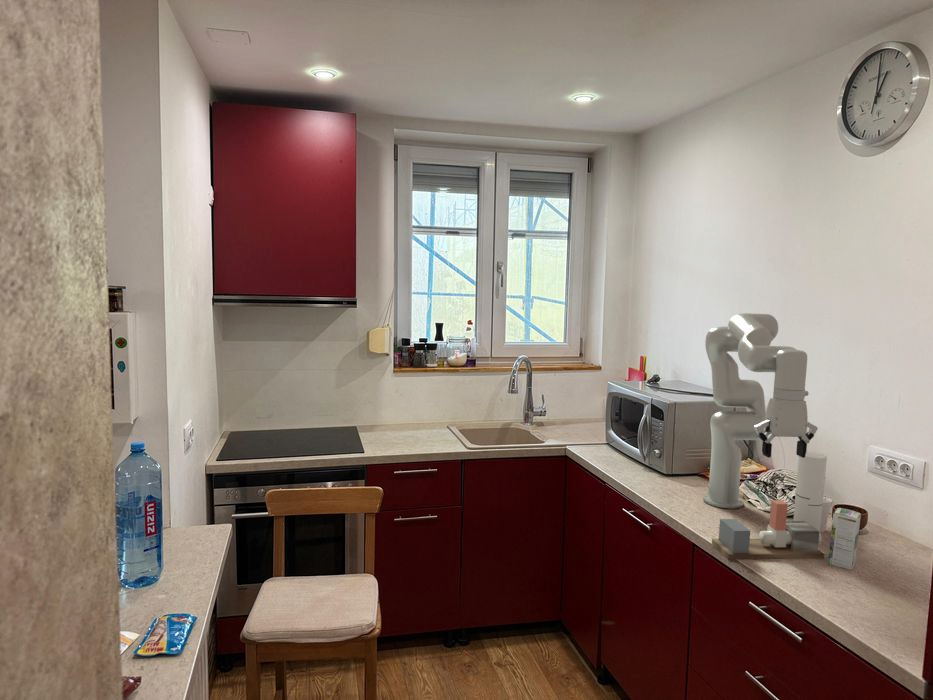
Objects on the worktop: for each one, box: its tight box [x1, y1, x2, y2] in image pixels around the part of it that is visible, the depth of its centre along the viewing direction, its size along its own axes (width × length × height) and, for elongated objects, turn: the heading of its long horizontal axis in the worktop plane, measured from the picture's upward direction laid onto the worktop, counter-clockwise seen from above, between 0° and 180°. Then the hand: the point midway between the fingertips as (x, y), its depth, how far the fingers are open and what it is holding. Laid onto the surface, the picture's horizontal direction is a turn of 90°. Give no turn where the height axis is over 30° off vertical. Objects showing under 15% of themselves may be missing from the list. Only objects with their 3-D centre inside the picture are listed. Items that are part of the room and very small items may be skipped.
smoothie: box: [820, 496, 833, 533], centre depth 191 cm, size 6×6×14 cm
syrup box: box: [827, 507, 862, 571], centre depth 168 cm, size 6×6×14 cm
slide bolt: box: [758, 499, 823, 547], centre depth 175 cm, size 5×16×12 cm, turn 93°
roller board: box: [711, 520, 825, 561], centre depth 175 cm, size 10×27×7 cm, turn 93°
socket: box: [718, 518, 751, 553], centre depth 175 cm, size 8×4×6 cm, turn 3°
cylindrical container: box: [792, 450, 828, 531], centre depth 185 cm, size 7×7×25 cm
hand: (783, 456), depth 172 cm, fingers open, 9 cm apart
